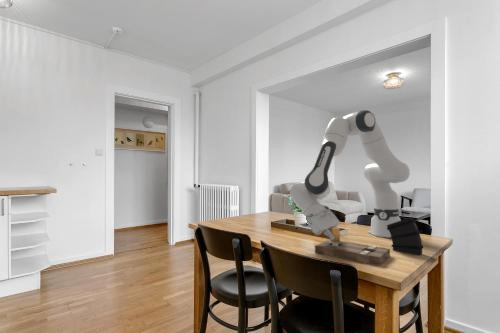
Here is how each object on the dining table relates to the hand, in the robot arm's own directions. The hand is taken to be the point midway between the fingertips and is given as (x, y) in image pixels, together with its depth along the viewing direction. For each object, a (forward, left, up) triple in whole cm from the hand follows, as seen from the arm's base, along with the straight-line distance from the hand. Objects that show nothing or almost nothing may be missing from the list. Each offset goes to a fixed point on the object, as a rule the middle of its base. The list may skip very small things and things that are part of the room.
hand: (336, 237), depth 120 cm
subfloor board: (0, +6, -6) cm, 9 cm away
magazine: (-18, +22, -6) cm, 29 cm away
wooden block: (0, -1, -6) cm, 6 cm away
